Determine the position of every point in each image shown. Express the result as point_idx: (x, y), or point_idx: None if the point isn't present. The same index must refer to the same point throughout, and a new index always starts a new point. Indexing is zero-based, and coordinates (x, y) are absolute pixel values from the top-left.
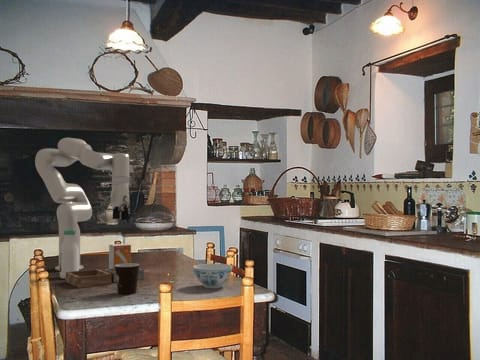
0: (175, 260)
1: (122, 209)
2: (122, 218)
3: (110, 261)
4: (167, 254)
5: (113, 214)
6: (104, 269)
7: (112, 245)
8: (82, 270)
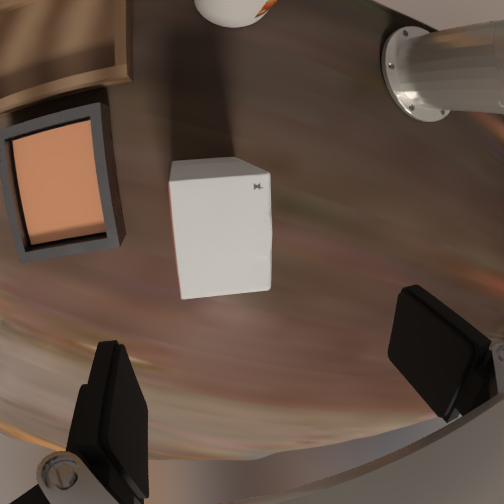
0: (366, 411)
1: (67, 476)
2: (101, 362)
3: (218, 161)
4: None
5: (434, 318)
6: (95, 104)
7: (200, 178)
8: (124, 12)
